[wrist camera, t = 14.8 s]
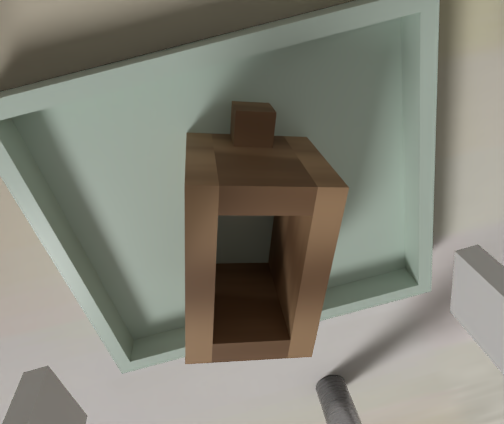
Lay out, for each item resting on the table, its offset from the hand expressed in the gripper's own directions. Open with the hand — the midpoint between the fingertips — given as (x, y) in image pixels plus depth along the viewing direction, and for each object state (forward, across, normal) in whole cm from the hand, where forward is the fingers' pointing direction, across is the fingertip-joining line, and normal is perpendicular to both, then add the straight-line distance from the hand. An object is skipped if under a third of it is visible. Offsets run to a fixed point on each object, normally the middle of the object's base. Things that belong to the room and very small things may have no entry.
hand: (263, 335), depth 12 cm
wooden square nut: (+9, 0, -1) cm, 9 cm away
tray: (+10, +1, 0) cm, 10 cm away
